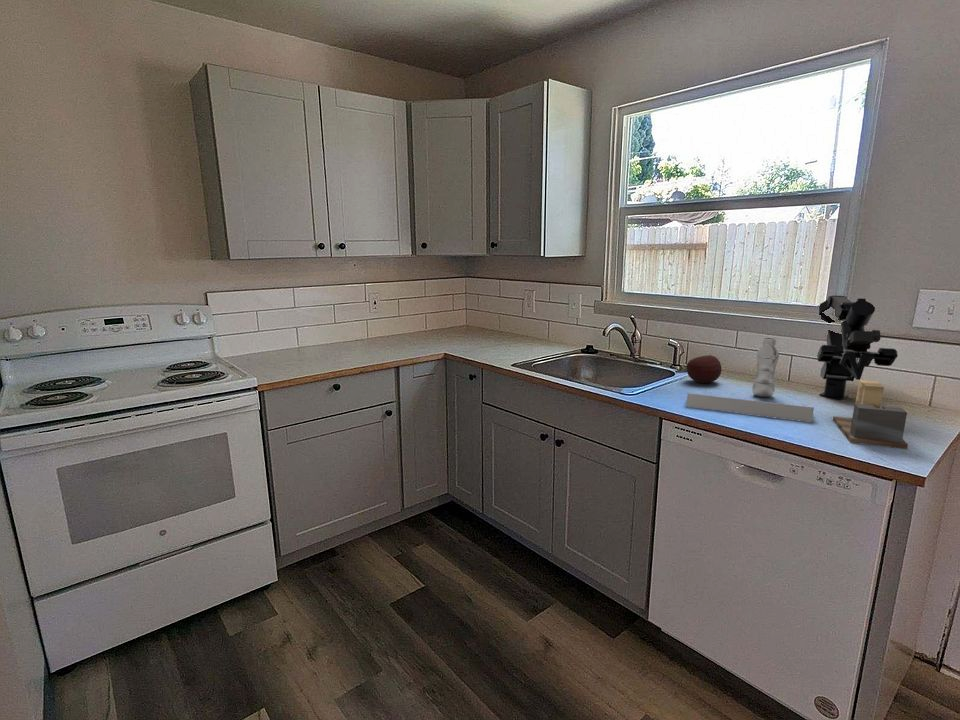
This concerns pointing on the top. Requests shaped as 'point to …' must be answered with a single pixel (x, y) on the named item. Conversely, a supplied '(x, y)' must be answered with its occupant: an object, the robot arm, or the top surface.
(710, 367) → the potato
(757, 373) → the plastic bottle
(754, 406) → the decorative molding
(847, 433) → the walnut sill
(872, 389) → the pale yellow box
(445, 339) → the top surface
